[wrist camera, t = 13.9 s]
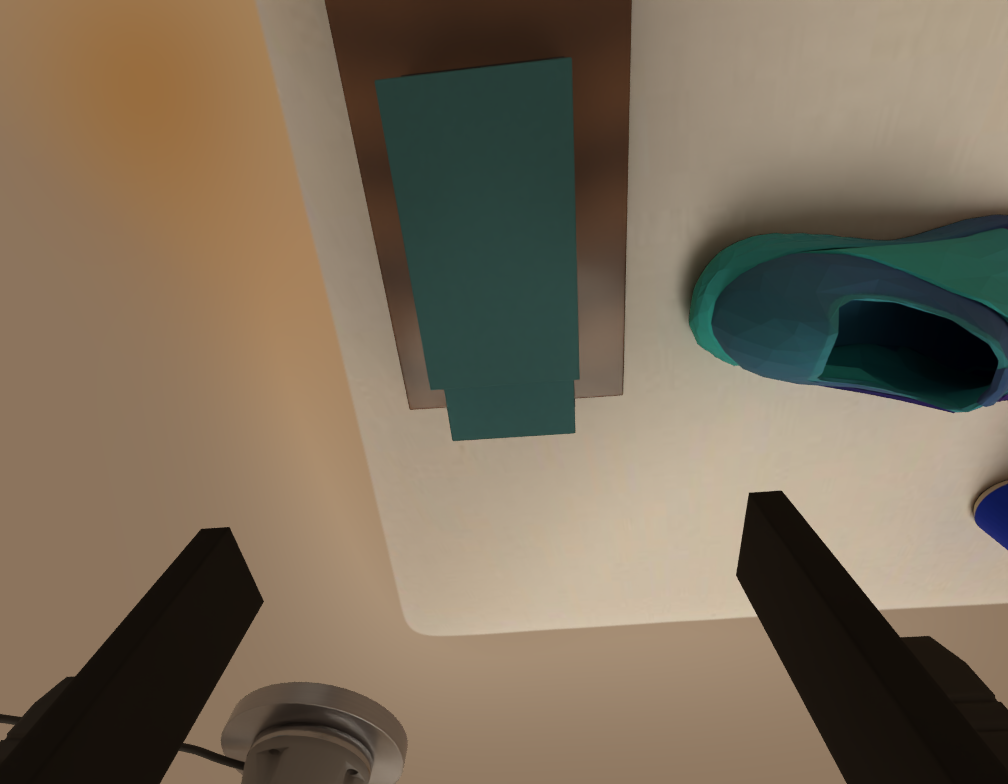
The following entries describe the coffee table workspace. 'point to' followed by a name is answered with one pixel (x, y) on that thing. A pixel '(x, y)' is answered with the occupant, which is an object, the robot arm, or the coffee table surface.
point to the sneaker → (866, 312)
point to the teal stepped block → (491, 238)
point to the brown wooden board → (597, 144)
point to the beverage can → (994, 512)
